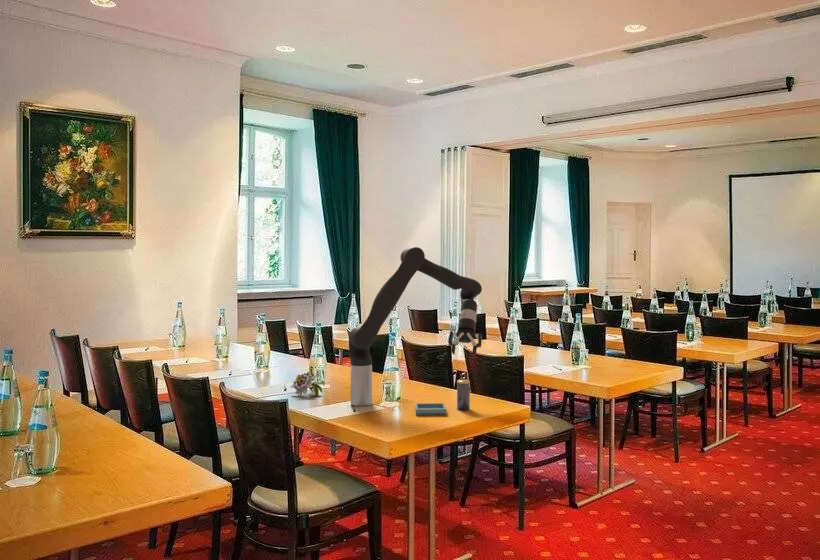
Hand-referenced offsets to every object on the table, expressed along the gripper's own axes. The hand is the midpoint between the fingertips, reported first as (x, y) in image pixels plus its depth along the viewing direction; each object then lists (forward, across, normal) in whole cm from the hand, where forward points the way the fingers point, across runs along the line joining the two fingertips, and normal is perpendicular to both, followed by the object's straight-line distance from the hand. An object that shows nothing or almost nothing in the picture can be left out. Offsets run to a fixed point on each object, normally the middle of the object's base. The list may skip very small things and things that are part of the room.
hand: (463, 354), depth 310 cm
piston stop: (+23, +2, +5) cm, 24 cm away
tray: (+28, -10, -1) cm, 30 cm away
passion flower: (+15, -73, +22) cm, 78 cm away
